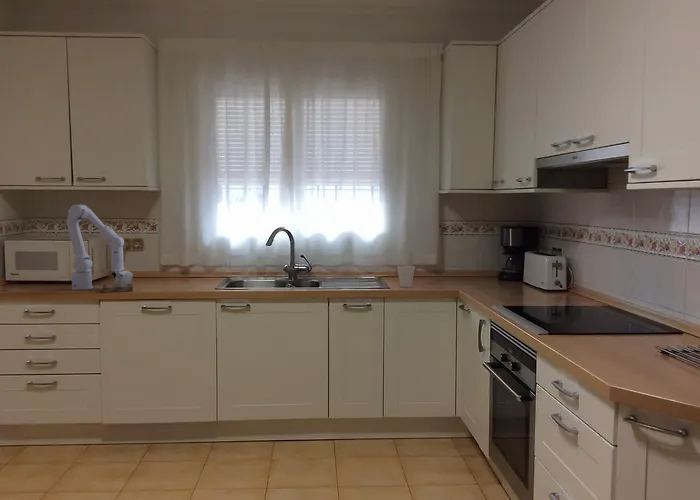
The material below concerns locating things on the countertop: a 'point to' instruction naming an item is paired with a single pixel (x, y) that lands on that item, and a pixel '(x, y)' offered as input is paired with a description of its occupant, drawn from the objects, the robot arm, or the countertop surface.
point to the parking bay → (117, 289)
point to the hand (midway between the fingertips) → (118, 285)
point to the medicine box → (123, 279)
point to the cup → (406, 275)
